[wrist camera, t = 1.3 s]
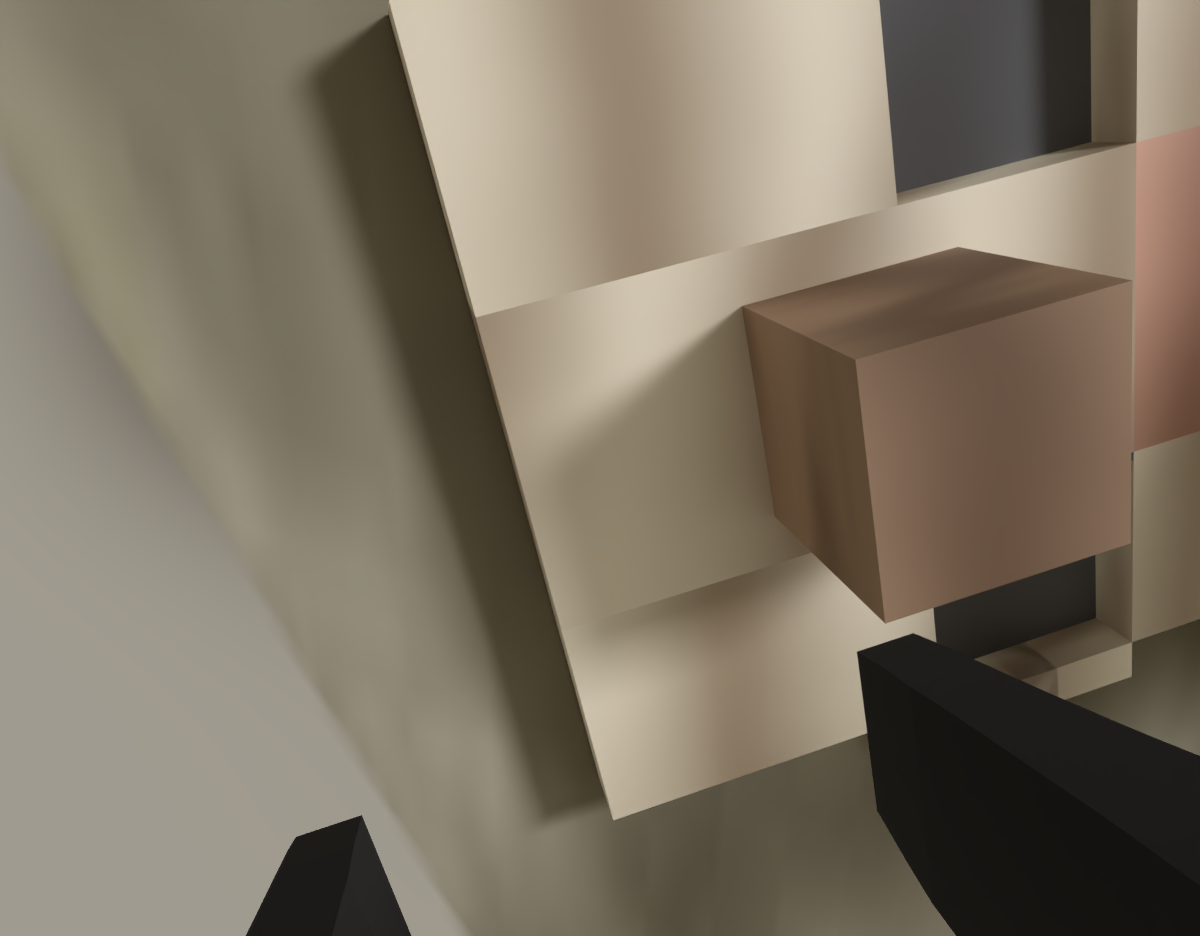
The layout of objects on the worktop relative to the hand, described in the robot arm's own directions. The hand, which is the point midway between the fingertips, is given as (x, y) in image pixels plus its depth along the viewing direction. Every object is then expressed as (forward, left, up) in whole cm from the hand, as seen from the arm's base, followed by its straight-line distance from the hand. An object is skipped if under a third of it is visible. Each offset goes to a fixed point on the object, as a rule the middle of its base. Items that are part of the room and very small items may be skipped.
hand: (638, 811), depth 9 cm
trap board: (-7, -7, -10) cm, 14 cm away
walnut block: (-5, -5, -9) cm, 11 cm away
